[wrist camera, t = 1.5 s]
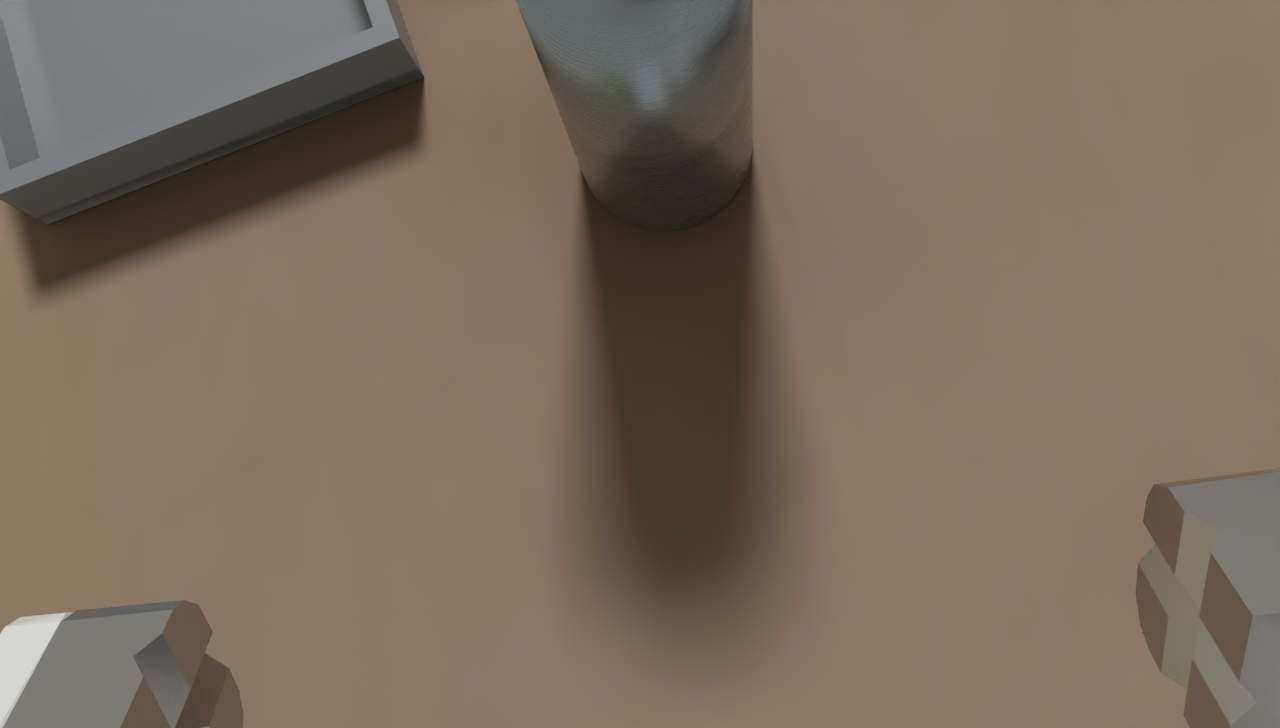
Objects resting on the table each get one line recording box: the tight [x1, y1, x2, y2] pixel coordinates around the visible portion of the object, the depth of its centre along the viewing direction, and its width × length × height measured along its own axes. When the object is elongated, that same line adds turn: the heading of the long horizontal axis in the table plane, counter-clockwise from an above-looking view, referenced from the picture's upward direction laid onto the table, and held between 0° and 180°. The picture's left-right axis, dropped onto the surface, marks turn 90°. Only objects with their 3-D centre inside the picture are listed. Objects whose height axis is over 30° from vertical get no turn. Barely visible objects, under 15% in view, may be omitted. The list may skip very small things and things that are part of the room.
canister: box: [516, 0, 752, 230], centre depth 28 cm, size 5×5×12 cm
